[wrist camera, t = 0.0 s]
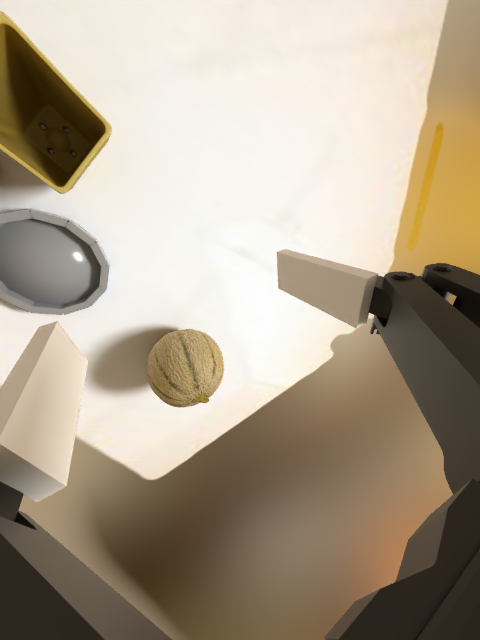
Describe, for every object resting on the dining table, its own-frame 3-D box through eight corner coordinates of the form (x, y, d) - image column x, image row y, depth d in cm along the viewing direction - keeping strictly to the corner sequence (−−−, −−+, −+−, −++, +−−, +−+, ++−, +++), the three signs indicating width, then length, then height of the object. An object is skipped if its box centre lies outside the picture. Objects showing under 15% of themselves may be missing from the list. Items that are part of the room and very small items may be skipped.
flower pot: (-13, 131, 23) (-69, 99, 16) (34, 66, 23) (-2, 5, 16) (75, 198, 28) (63, 196, 22) (115, 147, 28) (114, 128, 21)
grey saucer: (-57, 222, 24) (-69, 224, 23) (78, 201, 29) (76, 201, 27) (27, 321, 32) (22, 327, 30) (123, 292, 36) (124, 296, 35)
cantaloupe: (174, 304, 42) (196, 342, 30) (221, 337, 51) (252, 376, 39) (126, 359, 42) (130, 418, 30) (181, 381, 51) (200, 433, 40)
